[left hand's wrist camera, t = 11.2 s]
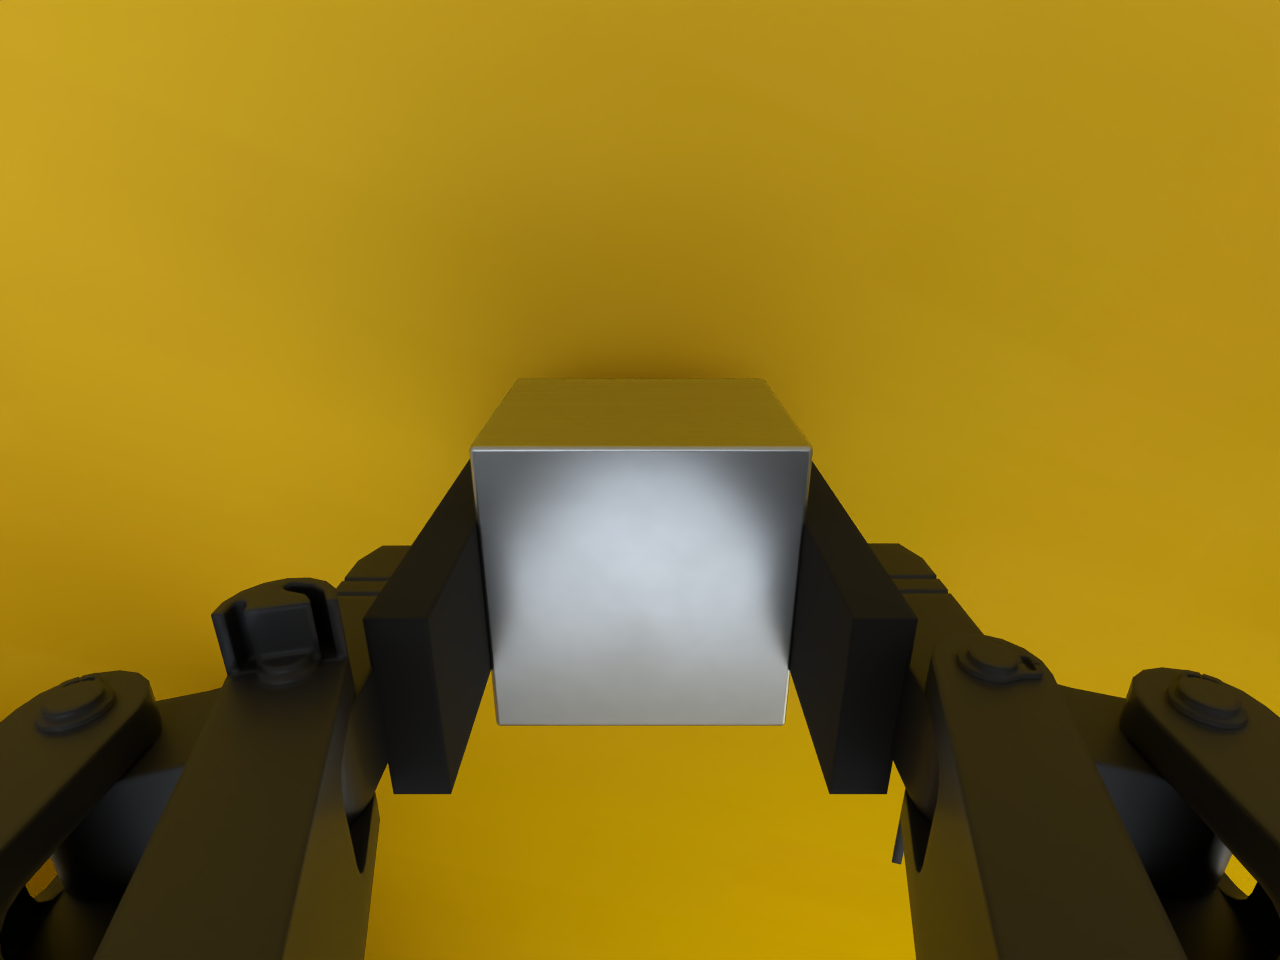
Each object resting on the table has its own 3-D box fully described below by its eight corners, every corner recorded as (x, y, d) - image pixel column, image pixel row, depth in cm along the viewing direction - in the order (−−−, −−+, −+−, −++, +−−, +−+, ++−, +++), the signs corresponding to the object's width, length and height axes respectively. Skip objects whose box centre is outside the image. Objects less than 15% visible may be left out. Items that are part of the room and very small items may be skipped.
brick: (532, 597, 16) (495, 727, 12) (516, 377, 14) (467, 446, 10) (749, 597, 16) (785, 727, 12) (764, 377, 14) (814, 446, 10)
